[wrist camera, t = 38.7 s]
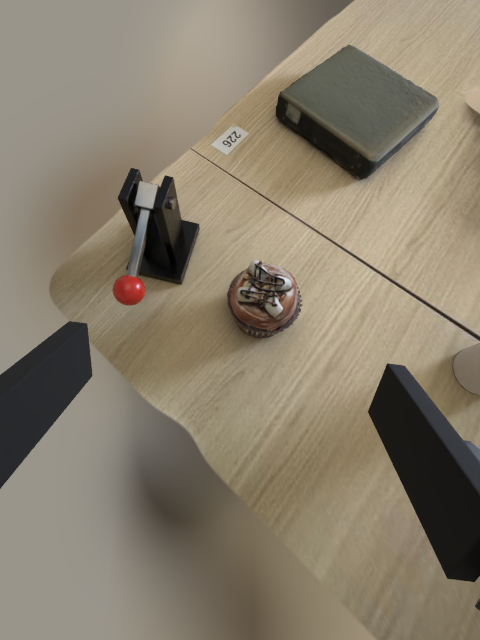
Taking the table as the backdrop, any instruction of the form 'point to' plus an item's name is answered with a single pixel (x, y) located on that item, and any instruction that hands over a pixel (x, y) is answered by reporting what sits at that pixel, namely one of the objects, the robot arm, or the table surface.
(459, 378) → the coffee cup
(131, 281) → the switch lever
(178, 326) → the table surface
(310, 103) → the network switch
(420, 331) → the table surface
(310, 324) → the table surface
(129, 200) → the switch bracket
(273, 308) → the cupcake
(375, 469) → the table surface
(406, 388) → the robot arm
